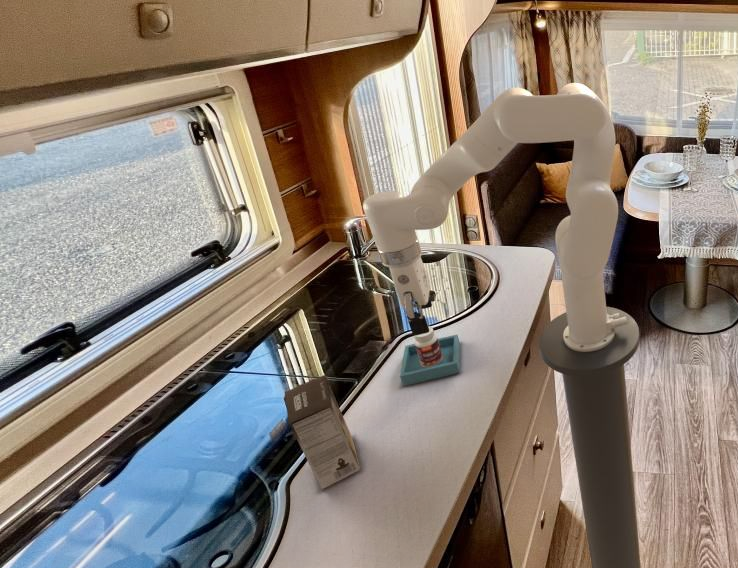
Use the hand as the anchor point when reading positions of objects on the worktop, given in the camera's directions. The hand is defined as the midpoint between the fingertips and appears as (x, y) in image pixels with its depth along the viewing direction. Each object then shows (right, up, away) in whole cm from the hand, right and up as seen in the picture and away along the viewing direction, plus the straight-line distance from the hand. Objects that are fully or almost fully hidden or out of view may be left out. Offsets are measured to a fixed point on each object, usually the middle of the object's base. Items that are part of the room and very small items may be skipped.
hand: (423, 320), depth 108 cm
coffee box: (-8, -23, -18) cm, 30 cm away
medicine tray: (0, -11, +5) cm, 12 cm away
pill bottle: (0, -10, +5) cm, 11 cm away
